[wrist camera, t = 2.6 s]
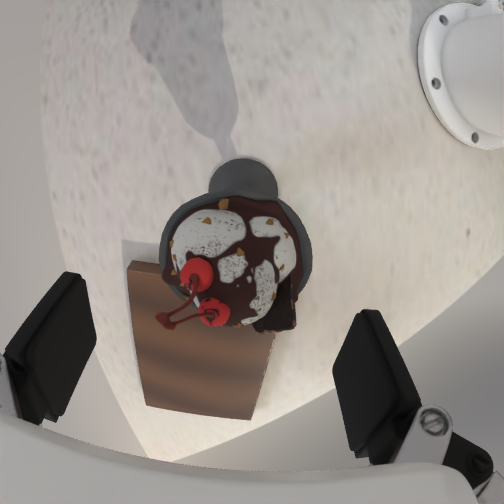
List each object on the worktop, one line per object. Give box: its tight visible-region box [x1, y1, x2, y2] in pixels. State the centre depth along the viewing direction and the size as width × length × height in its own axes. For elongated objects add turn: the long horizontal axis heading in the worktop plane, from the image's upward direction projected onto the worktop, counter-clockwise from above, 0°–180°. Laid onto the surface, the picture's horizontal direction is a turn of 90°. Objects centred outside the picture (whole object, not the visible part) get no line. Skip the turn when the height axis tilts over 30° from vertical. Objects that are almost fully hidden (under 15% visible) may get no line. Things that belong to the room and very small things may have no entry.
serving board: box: [127, 261, 276, 420], centre depth 29 cm, size 20×13×2 cm, turn 172°
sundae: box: [155, 159, 313, 335], centre depth 16 cm, size 7×7×15 cm
